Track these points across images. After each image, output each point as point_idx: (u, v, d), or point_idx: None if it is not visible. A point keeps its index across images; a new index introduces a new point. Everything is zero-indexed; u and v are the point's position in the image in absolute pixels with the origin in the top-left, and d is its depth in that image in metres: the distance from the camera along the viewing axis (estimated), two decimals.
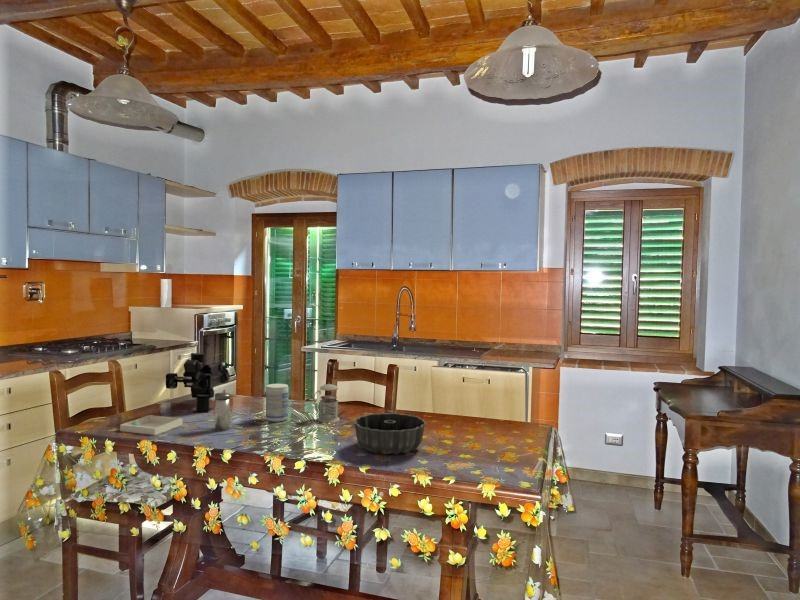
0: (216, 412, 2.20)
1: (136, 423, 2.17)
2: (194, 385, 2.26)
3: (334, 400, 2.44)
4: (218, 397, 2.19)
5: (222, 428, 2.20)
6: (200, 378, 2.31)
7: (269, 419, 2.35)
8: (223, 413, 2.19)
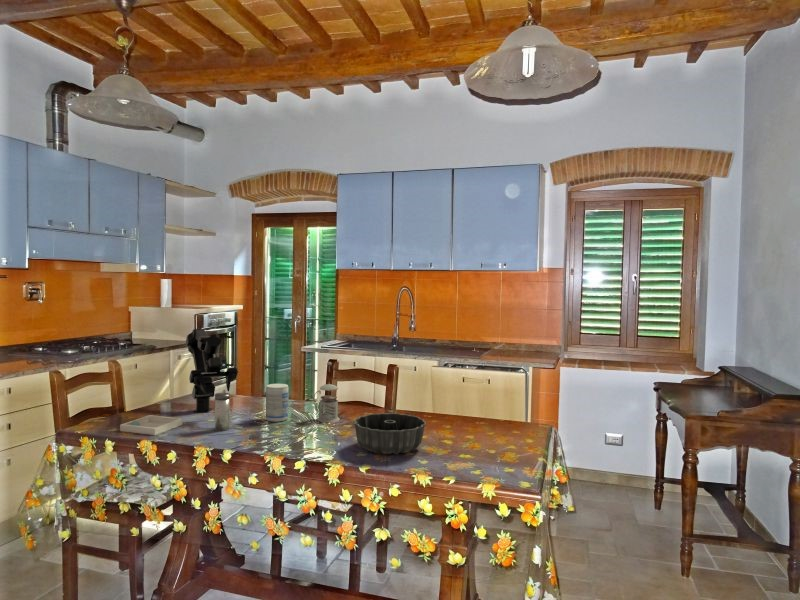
0: (216, 412, 2.20)
1: (136, 423, 2.17)
2: (229, 388, 2.32)
3: (334, 400, 2.44)
4: (218, 397, 2.19)
5: (222, 428, 2.20)
6: (230, 377, 2.33)
7: (269, 419, 2.35)
8: (223, 413, 2.19)
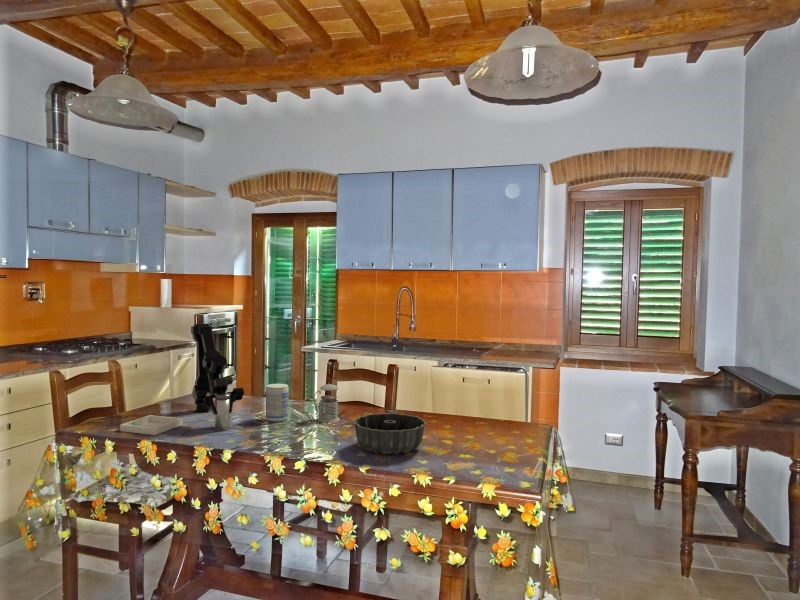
0: (216, 412, 2.20)
1: (136, 423, 2.17)
2: None
3: (334, 400, 2.44)
4: (218, 397, 2.19)
5: (222, 428, 2.20)
6: (232, 398, 2.25)
7: (269, 419, 2.35)
8: (223, 413, 2.19)
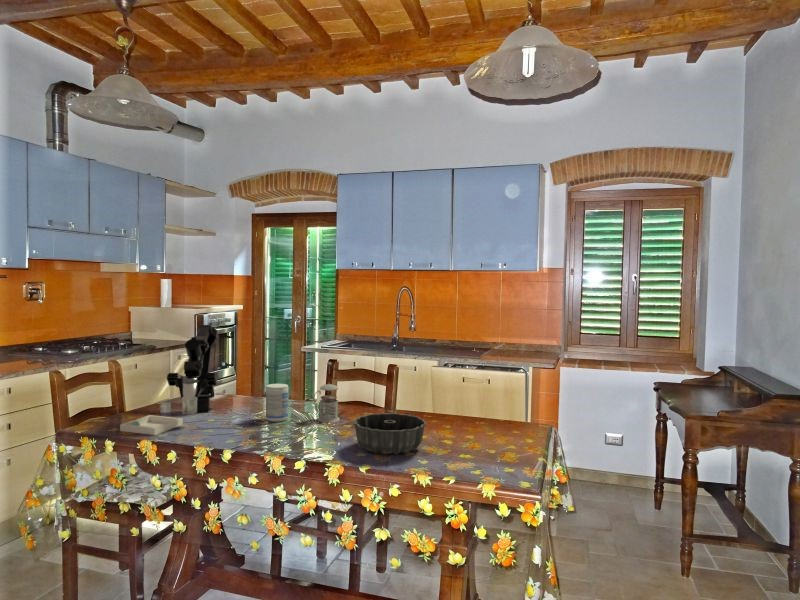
0: None
1: (136, 423, 2.17)
2: (198, 394, 2.23)
3: (334, 400, 2.44)
4: (183, 380, 2.20)
5: (186, 411, 2.20)
6: (201, 382, 2.24)
7: (269, 419, 2.35)
8: (187, 396, 2.20)
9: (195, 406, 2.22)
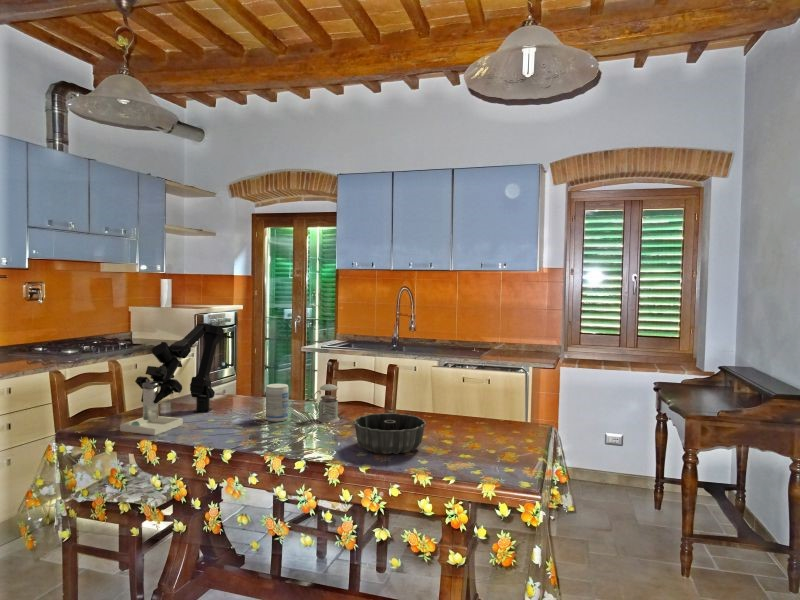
0: None
1: (136, 423, 2.17)
2: (157, 401, 2.17)
3: (334, 400, 2.44)
4: None
5: (144, 417, 2.17)
6: (161, 388, 2.19)
7: (269, 419, 2.35)
8: (145, 401, 2.16)
9: (153, 412, 2.17)
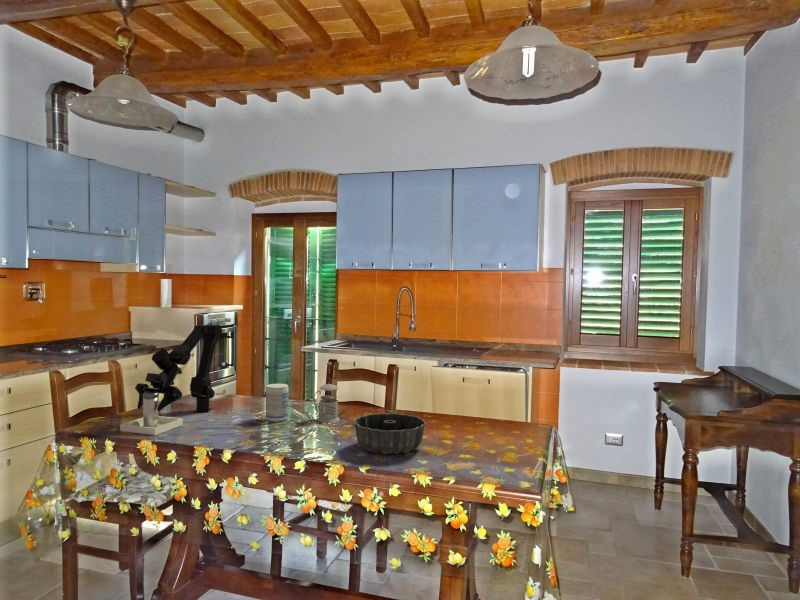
0: None
1: (136, 423, 2.17)
2: (160, 408, 2.17)
3: (334, 400, 2.44)
4: None
5: None
6: (165, 396, 2.18)
7: (269, 419, 2.35)
8: (145, 411, 2.16)
9: (153, 422, 2.17)
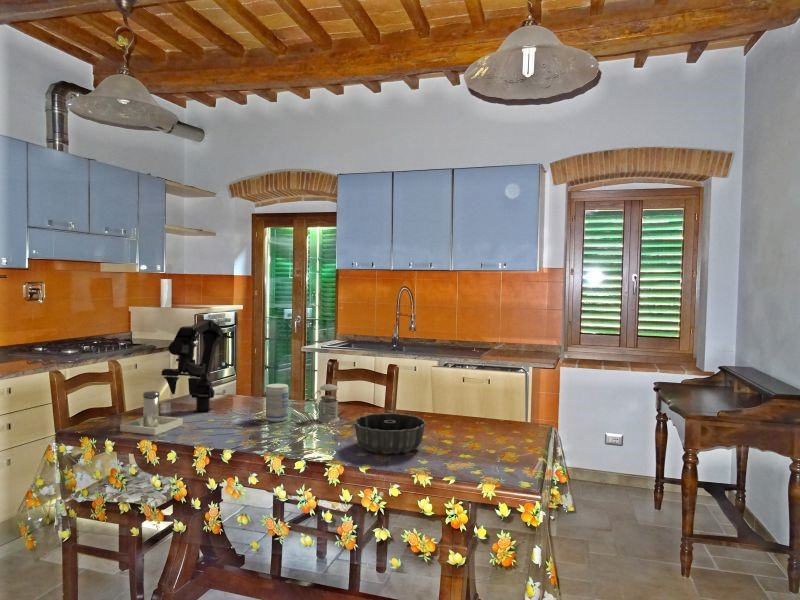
0: None
1: (136, 423, 2.17)
2: None
3: (334, 400, 2.44)
4: (143, 394, 2.17)
5: (144, 426, 2.17)
6: (197, 381, 2.36)
7: (269, 419, 2.35)
8: (145, 411, 2.16)
9: (153, 422, 2.17)
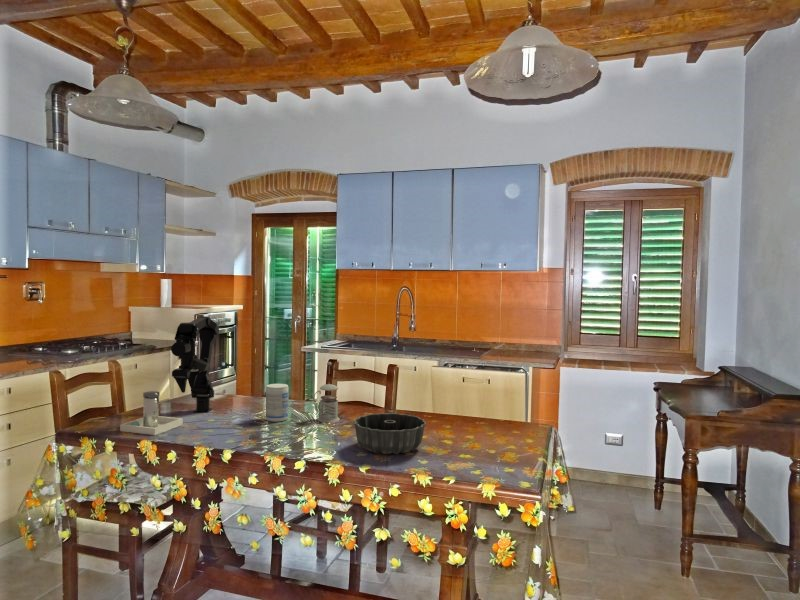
0: None
1: (136, 423, 2.17)
2: None
3: (334, 400, 2.44)
4: (143, 394, 2.18)
5: (144, 426, 2.17)
6: (197, 374, 2.38)
7: (269, 419, 2.35)
8: (145, 411, 2.17)
9: (153, 422, 2.17)
